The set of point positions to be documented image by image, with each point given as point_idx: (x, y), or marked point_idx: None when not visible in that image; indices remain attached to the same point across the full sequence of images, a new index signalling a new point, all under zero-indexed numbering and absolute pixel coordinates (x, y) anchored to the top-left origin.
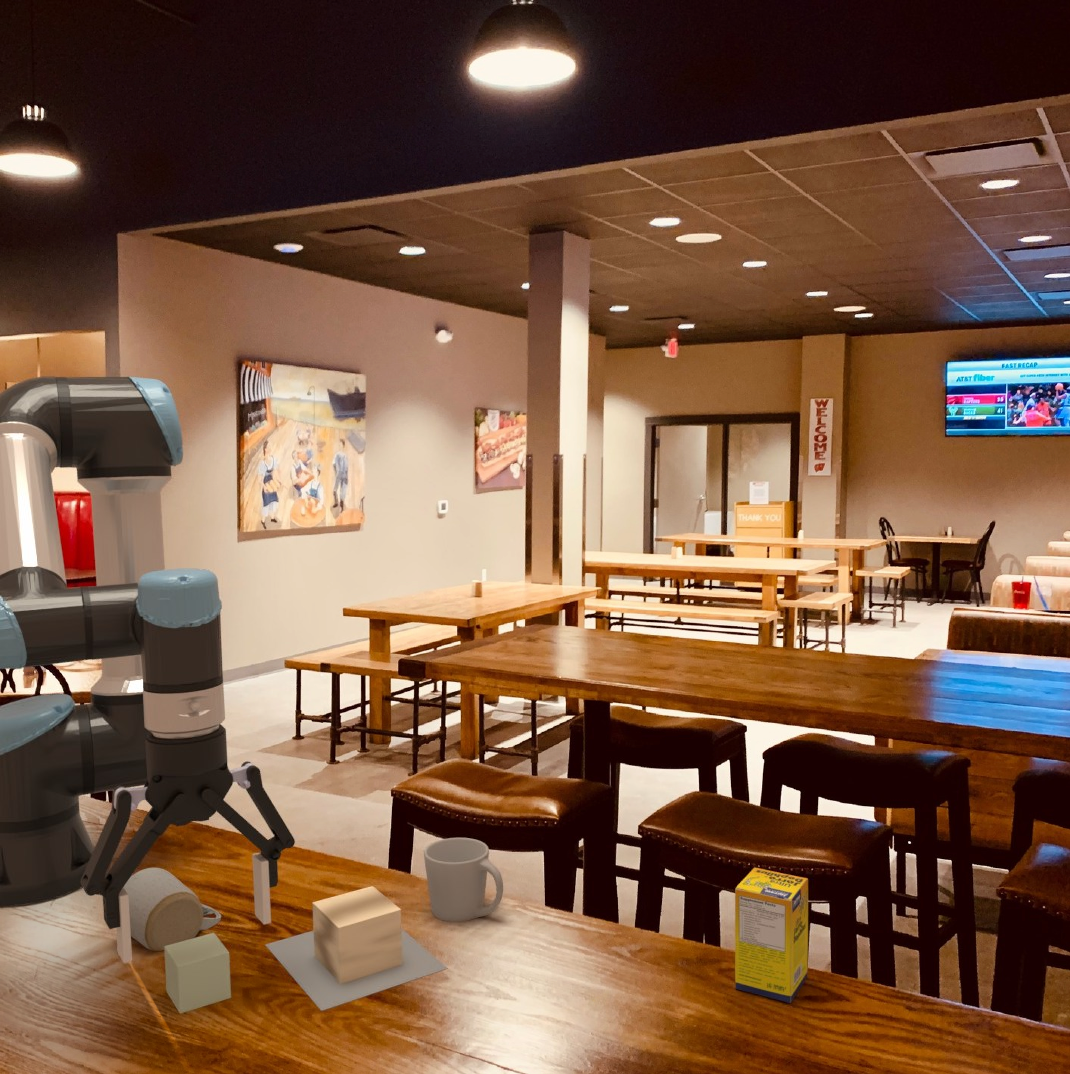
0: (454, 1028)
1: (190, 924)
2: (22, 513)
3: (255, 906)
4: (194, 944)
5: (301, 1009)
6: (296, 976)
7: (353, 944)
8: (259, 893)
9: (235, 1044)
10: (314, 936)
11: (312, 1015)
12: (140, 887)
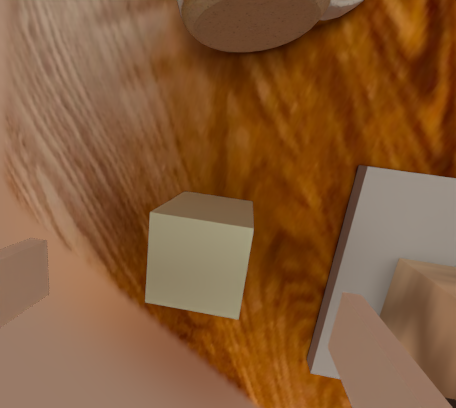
0: None
1: (286, 27)
2: None
3: (352, 314)
4: (200, 247)
5: (306, 322)
6: (339, 288)
7: None
8: (367, 402)
9: (212, 327)
10: (424, 279)
11: (308, 340)
12: None
